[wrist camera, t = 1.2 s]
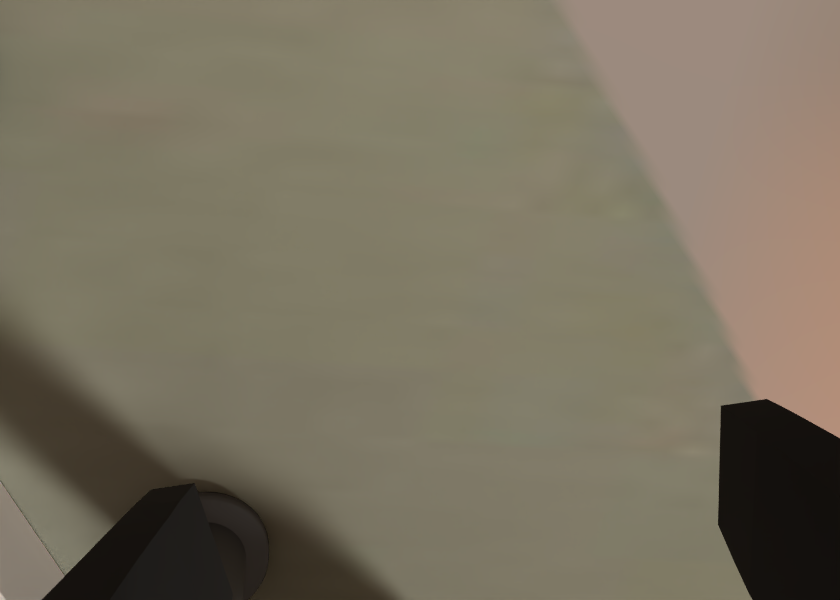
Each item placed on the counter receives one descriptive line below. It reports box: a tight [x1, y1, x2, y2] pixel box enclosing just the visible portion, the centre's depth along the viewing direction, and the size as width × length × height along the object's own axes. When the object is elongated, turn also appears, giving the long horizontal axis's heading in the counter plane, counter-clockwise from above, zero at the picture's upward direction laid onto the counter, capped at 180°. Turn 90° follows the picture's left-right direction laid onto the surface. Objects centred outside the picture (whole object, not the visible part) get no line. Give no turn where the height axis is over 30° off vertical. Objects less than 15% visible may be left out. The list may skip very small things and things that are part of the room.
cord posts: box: [198, 492, 269, 600], centre depth 17 cm, size 4×20×9 cm, turn 24°
